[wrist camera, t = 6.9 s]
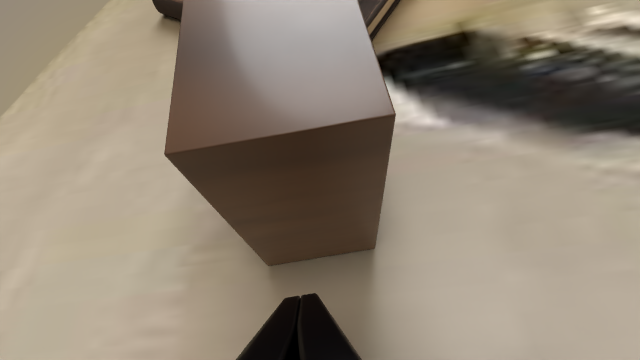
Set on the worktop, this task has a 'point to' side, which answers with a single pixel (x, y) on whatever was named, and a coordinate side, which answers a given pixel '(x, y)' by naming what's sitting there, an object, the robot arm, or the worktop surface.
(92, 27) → the worktop surface
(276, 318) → the robot arm
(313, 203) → the walnut block
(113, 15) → the worktop surface
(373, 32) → the hardcover book
